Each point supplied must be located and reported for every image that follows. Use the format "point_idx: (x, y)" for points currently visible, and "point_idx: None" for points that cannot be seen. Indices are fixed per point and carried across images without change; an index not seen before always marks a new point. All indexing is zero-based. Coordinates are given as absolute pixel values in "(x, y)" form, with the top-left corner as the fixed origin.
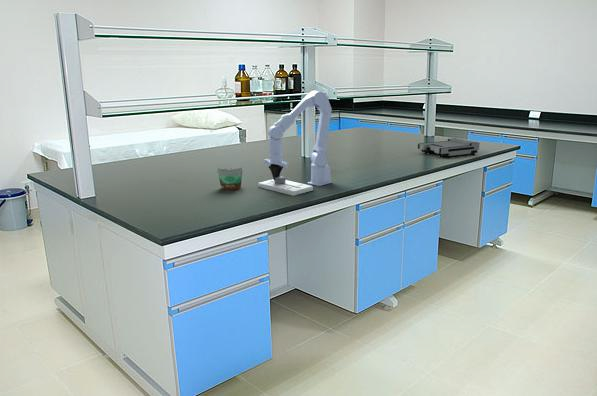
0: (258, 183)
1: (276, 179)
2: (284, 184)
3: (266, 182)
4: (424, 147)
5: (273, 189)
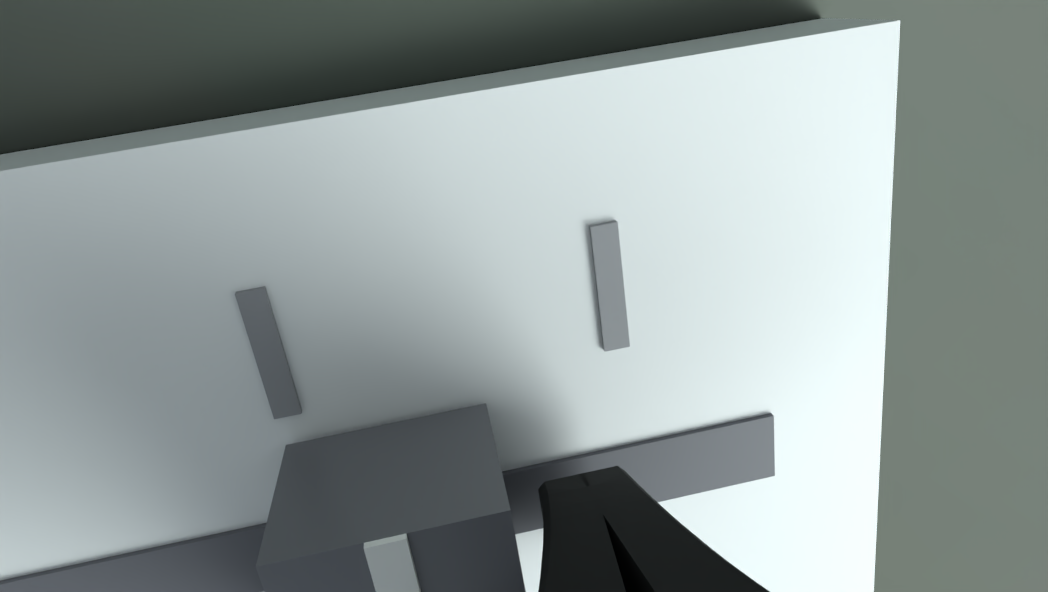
0: (873, 20)
1: (413, 495)
2: (179, 544)
3: (743, 261)
4: None
5: (169, 129)
